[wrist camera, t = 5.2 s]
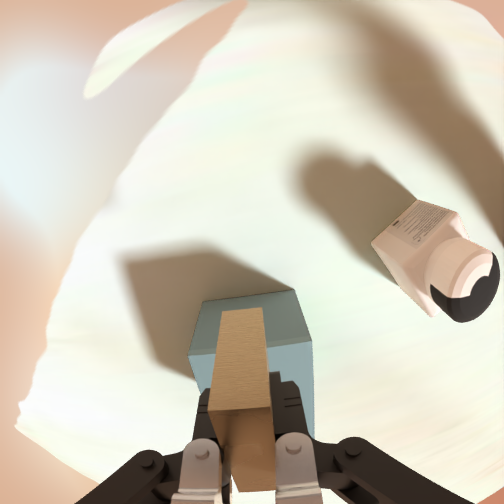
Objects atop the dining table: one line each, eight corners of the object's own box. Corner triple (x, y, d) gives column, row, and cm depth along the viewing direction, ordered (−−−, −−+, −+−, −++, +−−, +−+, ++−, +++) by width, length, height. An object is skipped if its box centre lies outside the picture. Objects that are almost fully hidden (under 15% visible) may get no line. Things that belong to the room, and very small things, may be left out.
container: (443, 247, 30) (514, 289, 18) (400, 288, 32) (459, 348, 20) (416, 197, 29) (496, 224, 16) (368, 242, 30) (433, 293, 18)
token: (261, 307, 13) (270, 406, 7) (273, 398, 15) (281, 489, 9) (222, 311, 13) (207, 410, 7) (241, 401, 15) (239, 492, 9)
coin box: (294, 289, 32) (311, 341, 22) (301, 383, 36) (314, 439, 26) (202, 301, 32) (187, 355, 23) (226, 392, 36) (222, 449, 27)
